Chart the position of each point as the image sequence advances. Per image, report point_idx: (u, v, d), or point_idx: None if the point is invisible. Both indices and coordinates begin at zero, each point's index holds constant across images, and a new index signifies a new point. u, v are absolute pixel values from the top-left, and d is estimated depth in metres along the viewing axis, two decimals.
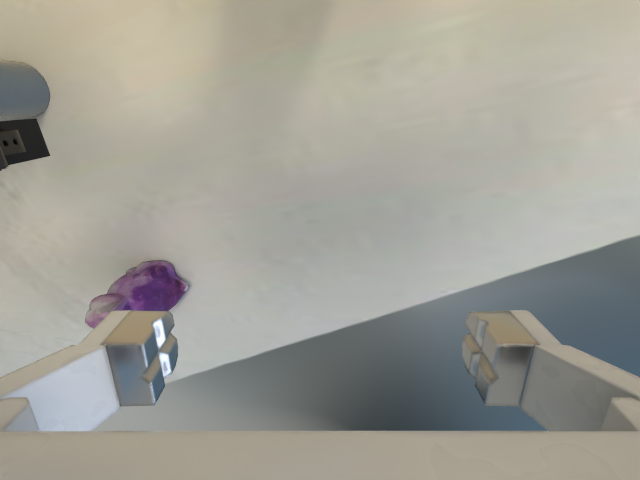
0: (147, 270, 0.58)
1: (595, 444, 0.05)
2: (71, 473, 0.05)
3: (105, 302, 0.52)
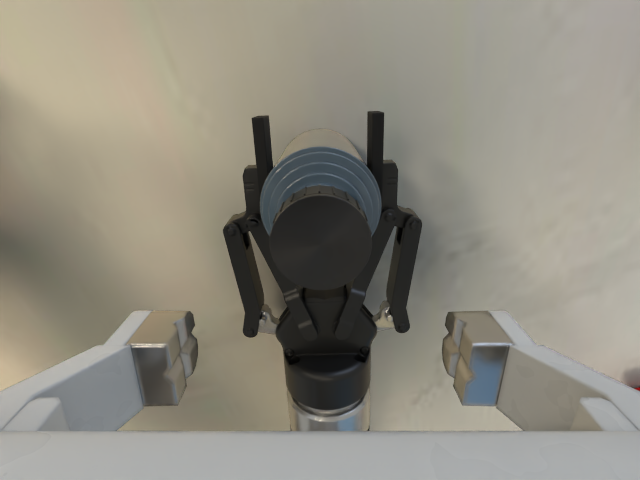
0: None
1: (595, 444, 0.05)
2: (71, 473, 0.05)
3: None
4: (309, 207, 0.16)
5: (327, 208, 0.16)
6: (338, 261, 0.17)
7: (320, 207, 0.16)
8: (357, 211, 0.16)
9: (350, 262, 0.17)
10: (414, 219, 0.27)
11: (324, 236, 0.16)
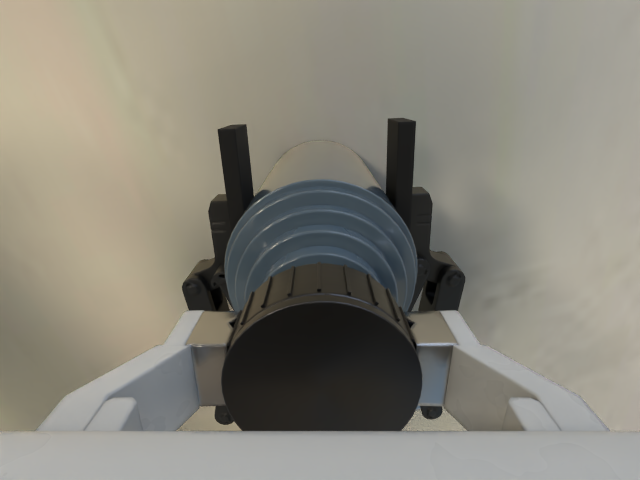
0: None
1: (595, 444, 0.05)
2: (71, 473, 0.05)
3: None
4: (299, 323, 0.08)
5: (335, 325, 0.08)
6: (355, 417, 0.09)
7: (321, 323, 0.08)
8: (396, 330, 0.08)
9: (379, 418, 0.09)
10: (454, 272, 0.19)
11: (329, 374, 0.08)
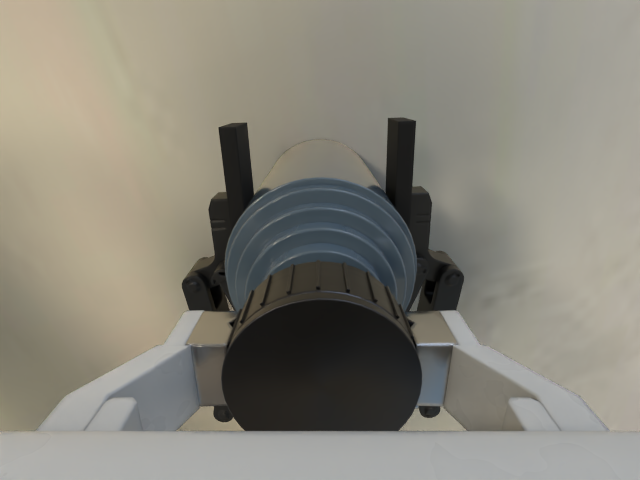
0: None
1: (595, 444, 0.05)
2: (71, 473, 0.05)
3: None
4: (243, 395, 0.09)
5: (247, 368, 0.08)
6: (363, 362, 0.08)
7: (245, 379, 0.08)
8: (258, 319, 0.08)
9: (369, 341, 0.08)
10: (453, 272, 0.19)
11: (304, 379, 0.08)
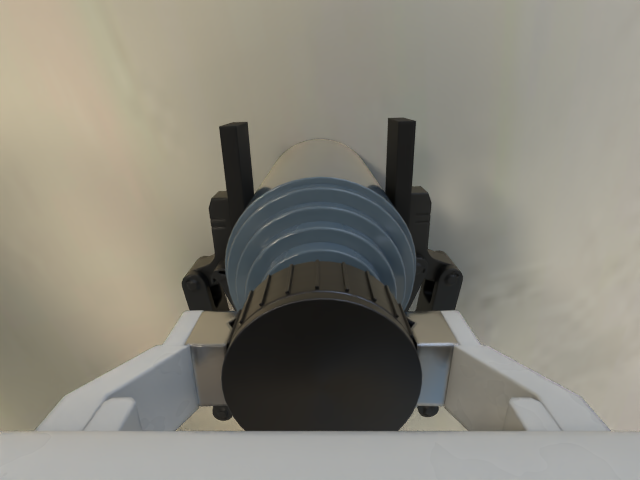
0: None
1: (595, 444, 0.05)
2: (71, 473, 0.05)
3: None
4: None
5: None
6: (296, 350, 0.08)
7: None
8: (240, 422, 0.09)
9: (271, 343, 0.08)
10: (452, 271, 0.19)
11: (310, 398, 0.09)
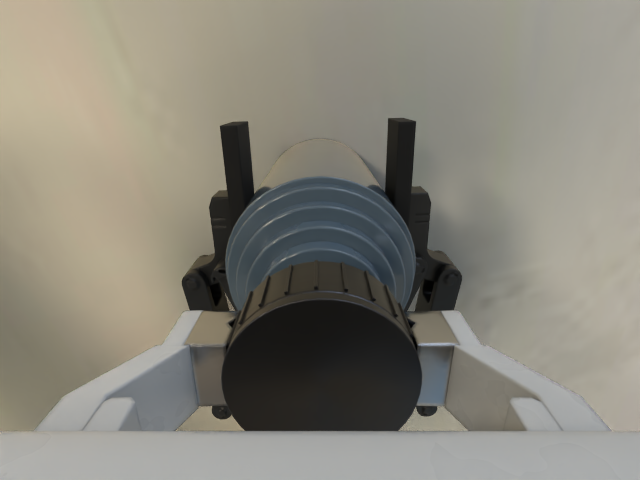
0: None
1: (595, 444, 0.05)
2: (71, 473, 0.05)
3: None
4: (399, 394, 0.09)
5: (383, 417, 0.09)
6: (275, 400, 0.09)
7: (390, 409, 0.09)
8: None
9: (266, 418, 0.09)
10: (451, 271, 0.19)
11: (335, 397, 0.09)
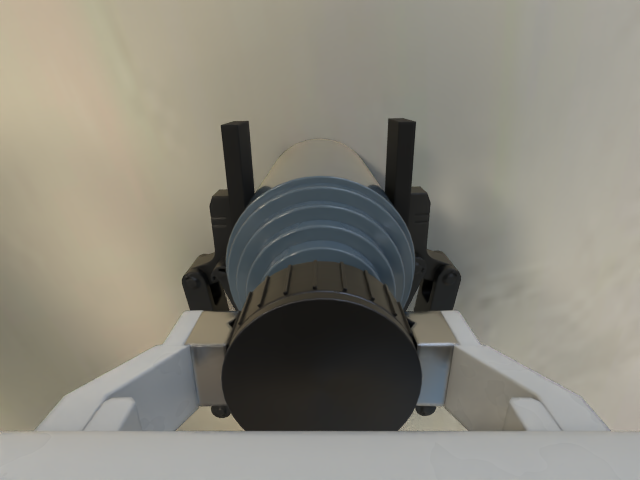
0: None
1: (595, 444, 0.05)
2: (71, 473, 0.05)
3: None
4: (343, 320, 0.08)
5: (373, 338, 0.08)
6: (332, 423, 0.09)
7: (362, 330, 0.08)
8: (418, 367, 0.08)
9: None
10: (450, 271, 0.19)
11: (337, 377, 0.08)
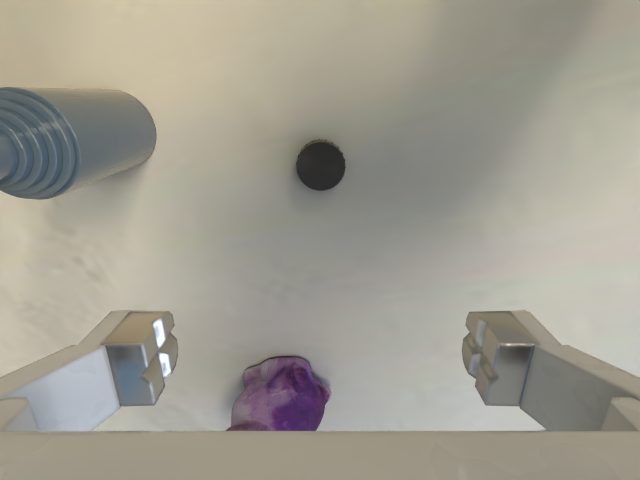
0: (285, 378, 0.41)
1: (595, 444, 0.05)
2: (71, 473, 0.05)
3: None
4: (326, 147, 0.34)
5: (332, 152, 0.34)
6: (323, 178, 0.35)
7: (330, 150, 0.34)
8: (343, 161, 0.35)
9: (328, 181, 0.35)
10: None
11: (324, 163, 0.35)
